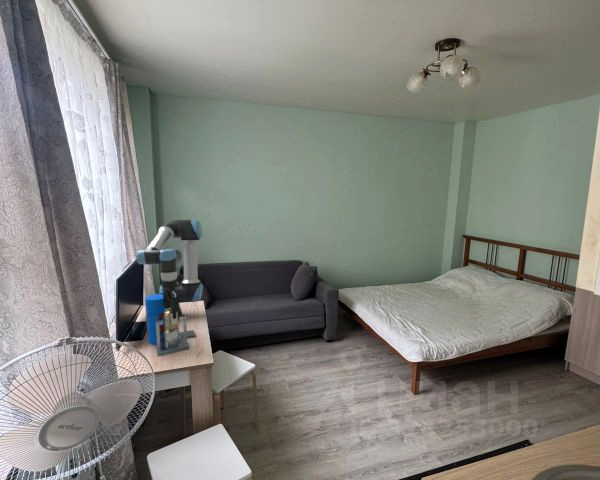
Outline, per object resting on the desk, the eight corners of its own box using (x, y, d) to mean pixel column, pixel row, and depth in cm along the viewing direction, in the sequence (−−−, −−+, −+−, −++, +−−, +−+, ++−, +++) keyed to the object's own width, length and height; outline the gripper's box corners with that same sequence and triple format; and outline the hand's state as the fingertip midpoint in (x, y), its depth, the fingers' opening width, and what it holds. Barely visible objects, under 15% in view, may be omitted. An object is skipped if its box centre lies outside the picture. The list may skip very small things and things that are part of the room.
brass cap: (174, 332, 155) (173, 315, 153) (160, 331, 155) (159, 314, 153) (182, 323, 165) (181, 307, 164) (169, 323, 165) (168, 307, 164)
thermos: (145, 339, 171) (143, 296, 167) (165, 334, 178) (163, 292, 174) (150, 346, 162) (148, 301, 159) (171, 340, 169) (169, 297, 166)
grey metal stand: (156, 346, 163) (154, 318, 161) (186, 340, 170) (185, 313, 168) (157, 356, 153) (155, 326, 151) (189, 349, 160) (188, 320, 158)
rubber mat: (179, 334, 178) (178, 332, 178) (193, 331, 181) (193, 329, 181) (180, 339, 171) (180, 338, 171) (195, 336, 174) (195, 335, 174)
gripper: (154, 277, 160) (157, 318, 164) (169, 284, 147) (171, 330, 150) (169, 274, 166) (171, 315, 169) (184, 281, 152) (186, 325, 155)
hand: (171, 322), depth 160 cm, fingers closed on brass cap, 6 cm apart
